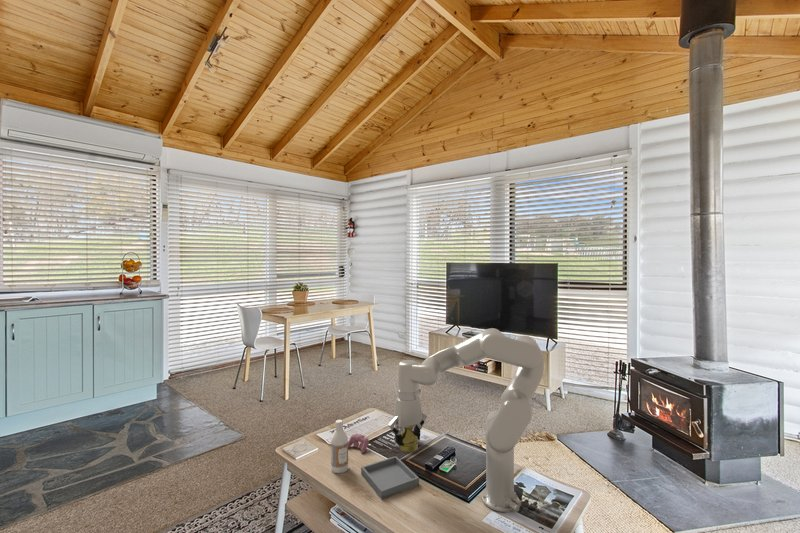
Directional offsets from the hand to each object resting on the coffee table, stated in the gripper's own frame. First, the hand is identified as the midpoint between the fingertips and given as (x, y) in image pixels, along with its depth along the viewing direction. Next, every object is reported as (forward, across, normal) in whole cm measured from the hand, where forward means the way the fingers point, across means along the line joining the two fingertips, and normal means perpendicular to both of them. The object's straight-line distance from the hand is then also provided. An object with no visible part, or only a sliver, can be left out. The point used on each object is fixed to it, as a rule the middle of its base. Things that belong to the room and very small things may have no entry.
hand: (407, 441), depth 139 cm
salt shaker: (+3, 0, 0) cm, 3 cm away
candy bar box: (+19, -18, -29) cm, 39 cm away
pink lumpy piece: (+19, +4, -37) cm, 42 cm away
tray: (+19, +3, -9) cm, 21 cm away
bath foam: (+19, +17, -26) cm, 36 cm away
